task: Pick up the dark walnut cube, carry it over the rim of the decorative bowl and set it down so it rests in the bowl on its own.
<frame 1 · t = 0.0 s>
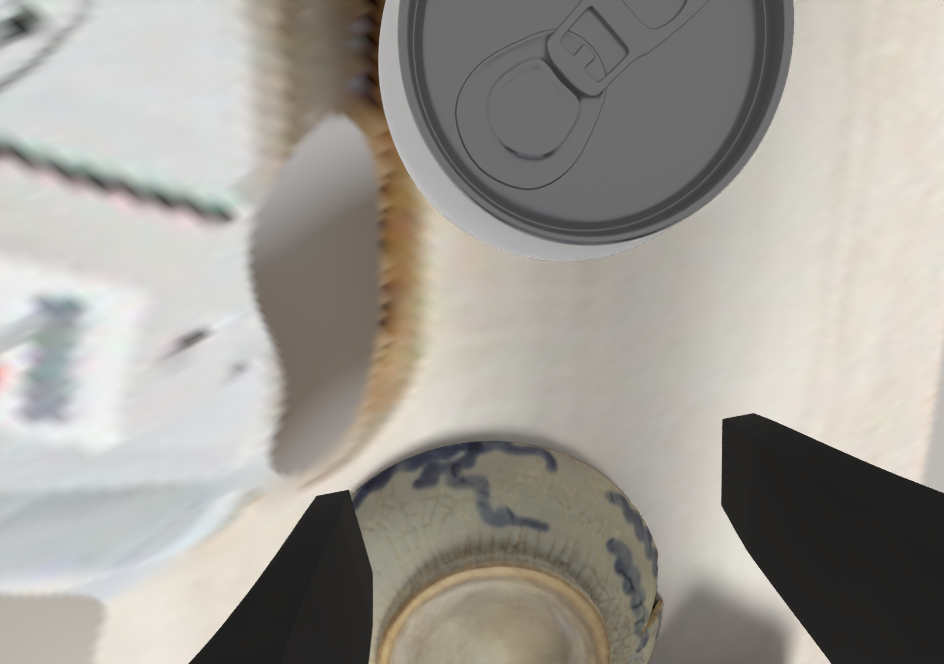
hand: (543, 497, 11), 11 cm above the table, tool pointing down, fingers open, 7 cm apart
can: (499, 137, 20), on the table
decorative bowl: (484, 600, 24), on the table
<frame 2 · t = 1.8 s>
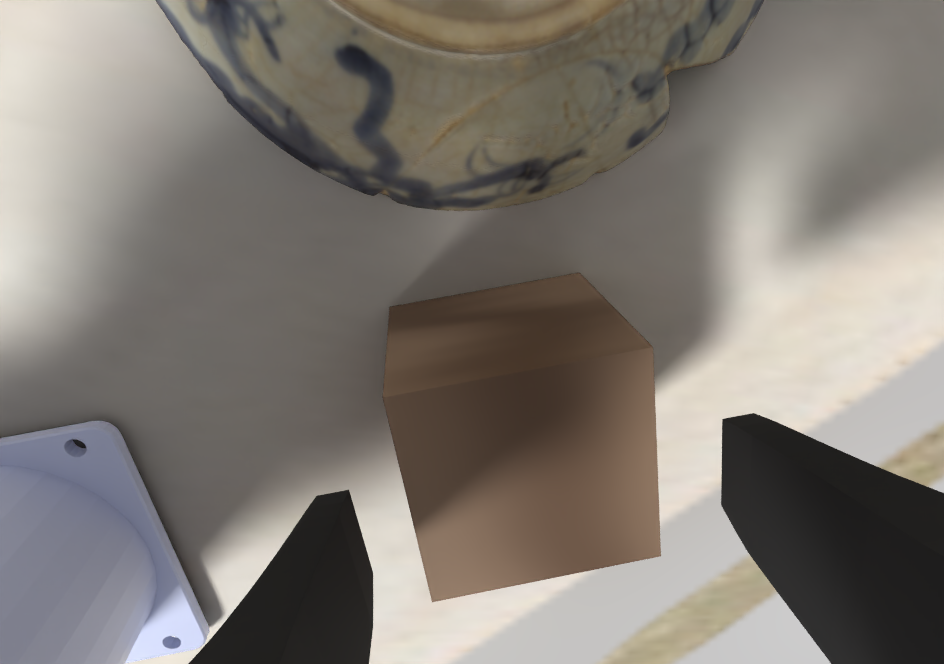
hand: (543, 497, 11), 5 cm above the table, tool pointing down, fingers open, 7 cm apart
walnut block: (497, 373, 16), on the table
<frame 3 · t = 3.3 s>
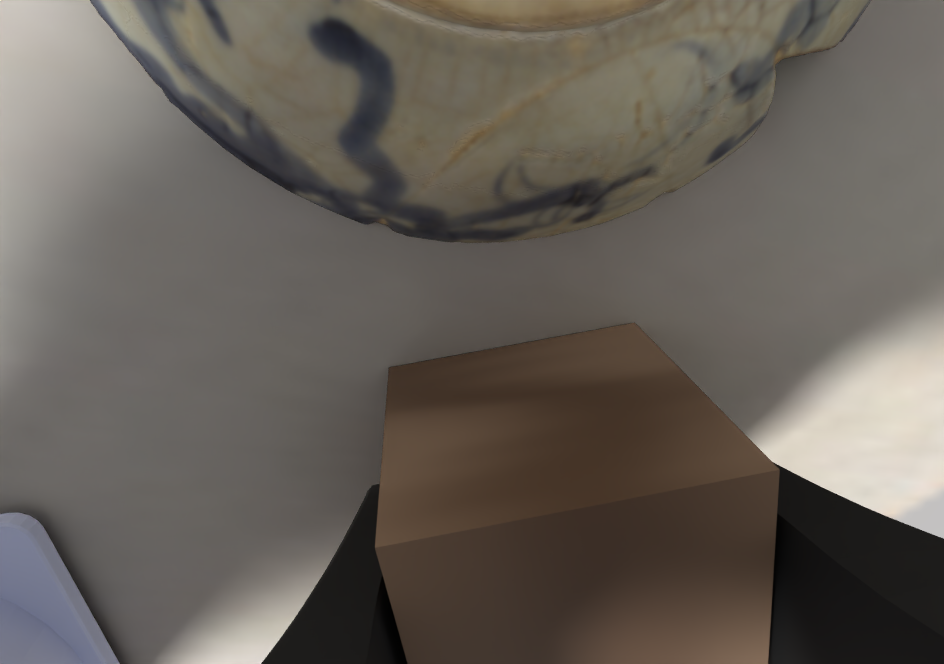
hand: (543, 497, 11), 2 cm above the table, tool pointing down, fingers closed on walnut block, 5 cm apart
walnut block: (527, 449, 13), on the table, touching gripper
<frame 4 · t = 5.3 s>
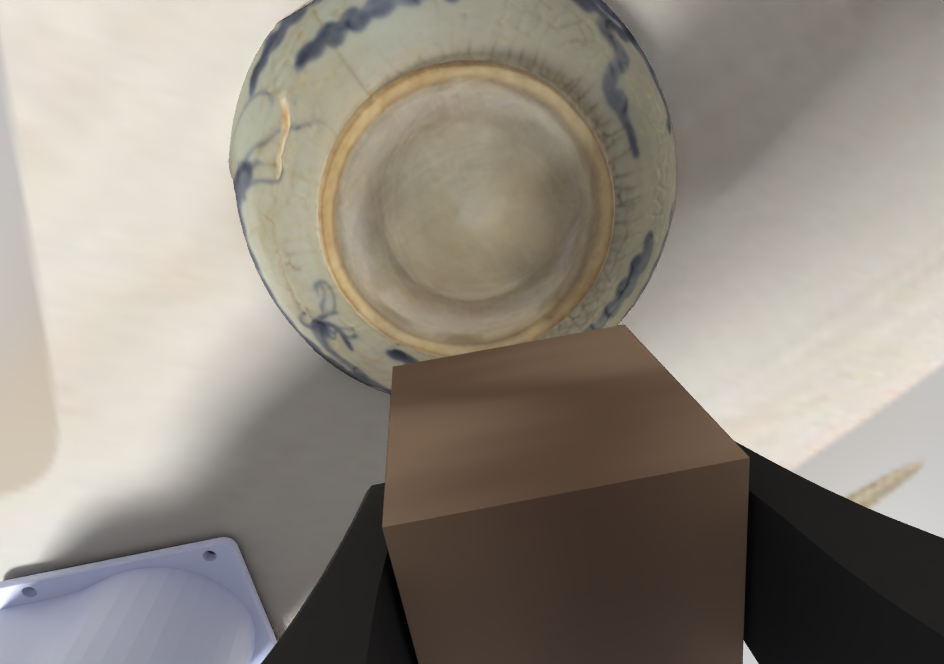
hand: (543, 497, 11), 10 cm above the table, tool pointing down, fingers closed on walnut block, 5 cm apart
walnut block: (523, 444, 13), point 8 cm above the table, touching gripper
decorative bowl: (458, 201, 20), on the table
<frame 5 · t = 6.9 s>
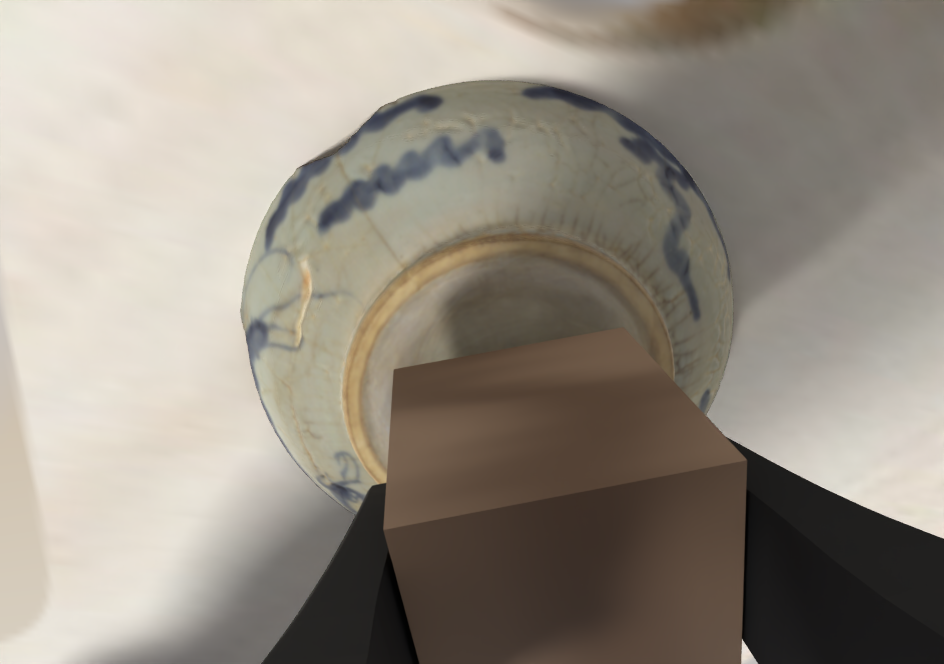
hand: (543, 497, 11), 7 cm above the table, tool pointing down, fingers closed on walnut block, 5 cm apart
walnut block: (523, 446, 13), point 5 cm above the table, touching gripper
decorative bowl: (492, 341, 18), on the table
when the fingers open (7 cm above the table, at t = 7.6 s): walnut block drops 2 cm, point 3 cm above the table.
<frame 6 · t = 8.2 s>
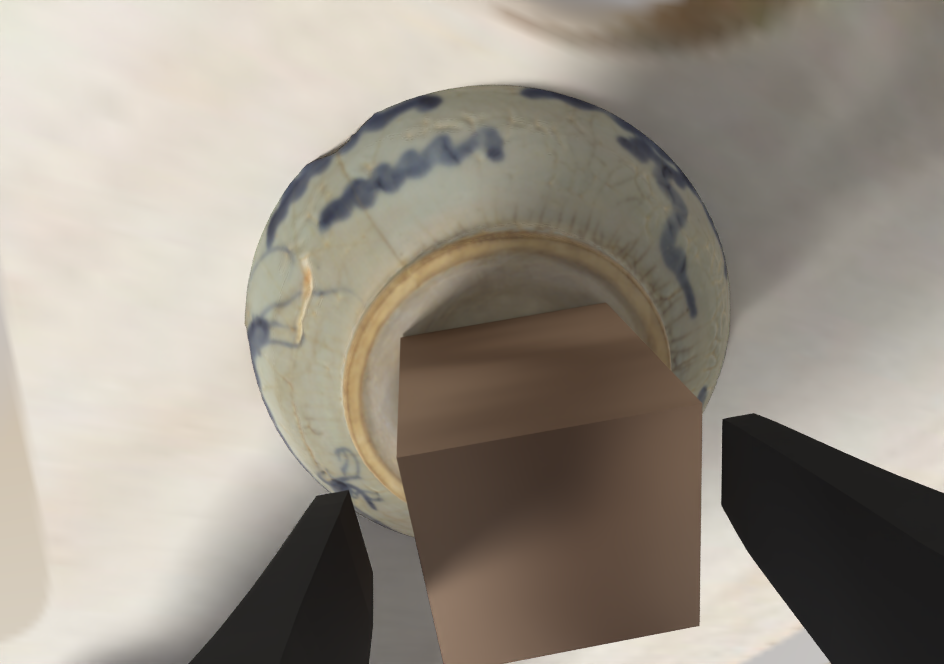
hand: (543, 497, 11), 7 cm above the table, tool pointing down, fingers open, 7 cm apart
walnut block: (515, 409, 15), point 3 cm above the table
decorative bowl: (491, 339, 18), on the table
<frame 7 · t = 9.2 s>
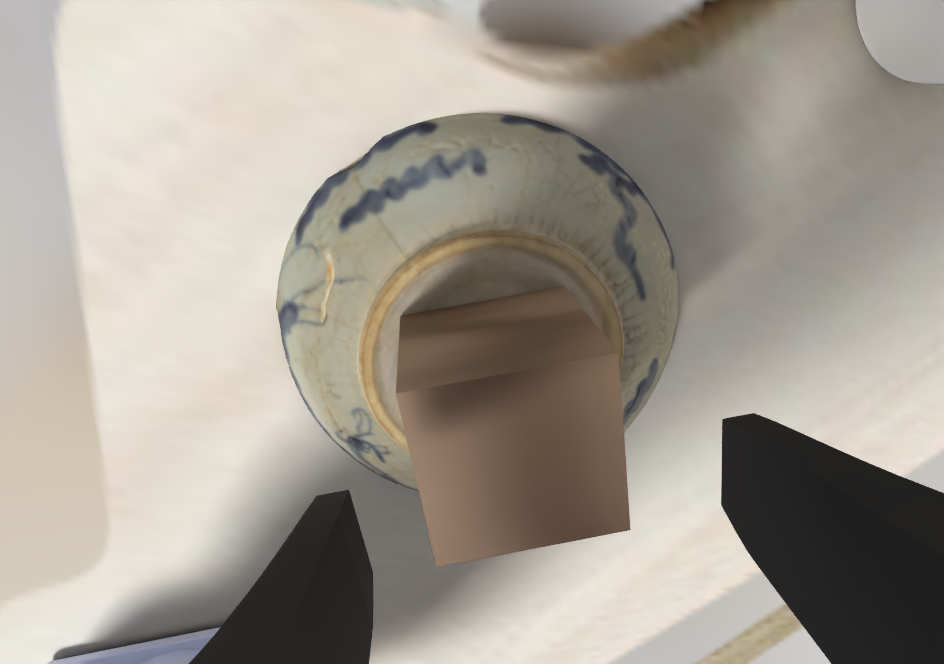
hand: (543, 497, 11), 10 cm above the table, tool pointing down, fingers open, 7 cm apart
walnut block: (494, 374, 18), point 3 cm above the table
decorative bowl: (480, 321, 22), on the table
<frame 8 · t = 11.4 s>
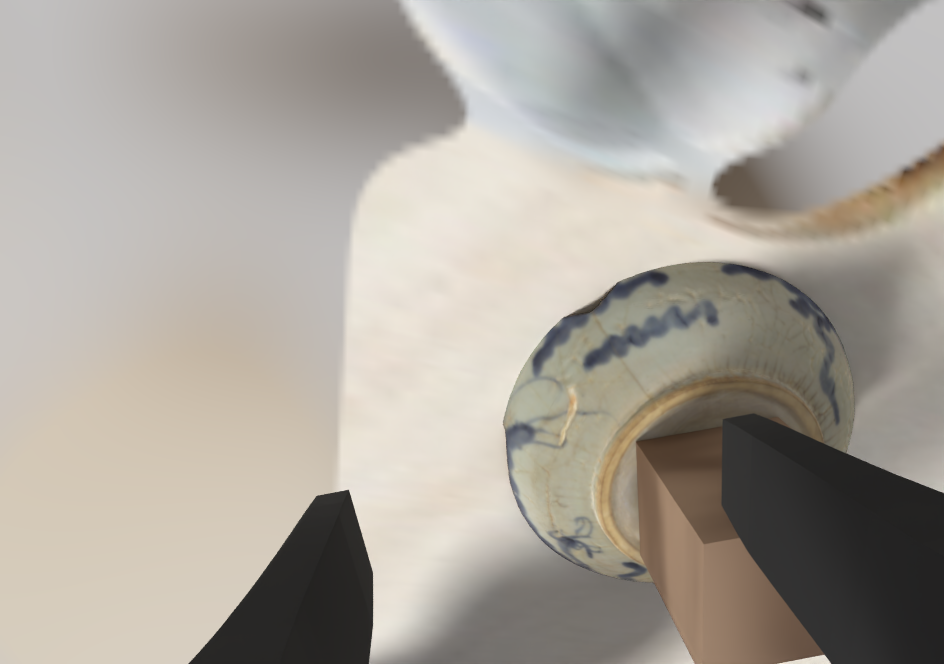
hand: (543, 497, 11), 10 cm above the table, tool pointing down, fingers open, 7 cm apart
walnut block: (706, 488, 21), point 3 cm above the table, touching decorative bowl
decorative bowl: (669, 428, 24), on the table, touching walnut block
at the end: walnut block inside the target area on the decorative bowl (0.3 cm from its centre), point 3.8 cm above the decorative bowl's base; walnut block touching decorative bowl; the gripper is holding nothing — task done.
